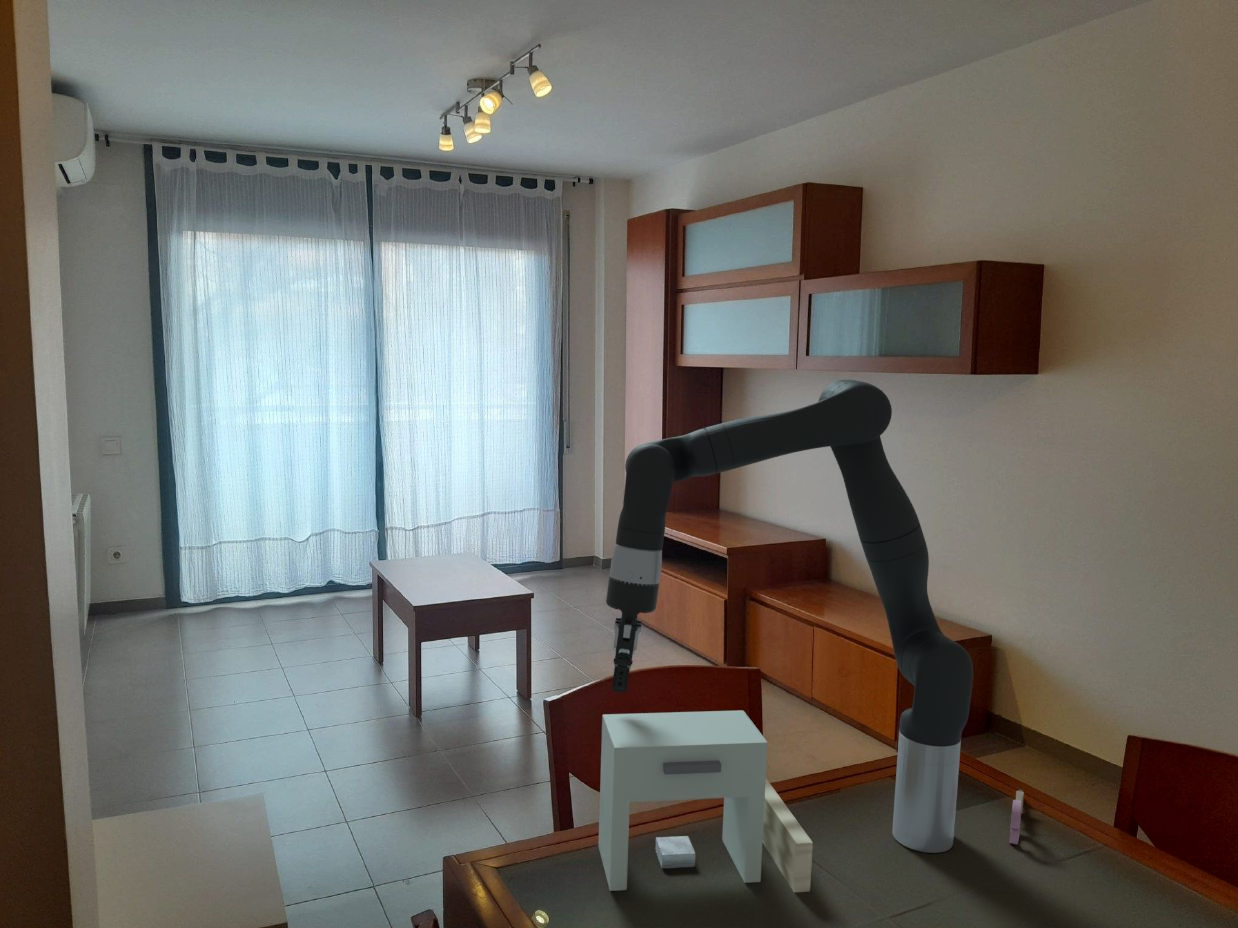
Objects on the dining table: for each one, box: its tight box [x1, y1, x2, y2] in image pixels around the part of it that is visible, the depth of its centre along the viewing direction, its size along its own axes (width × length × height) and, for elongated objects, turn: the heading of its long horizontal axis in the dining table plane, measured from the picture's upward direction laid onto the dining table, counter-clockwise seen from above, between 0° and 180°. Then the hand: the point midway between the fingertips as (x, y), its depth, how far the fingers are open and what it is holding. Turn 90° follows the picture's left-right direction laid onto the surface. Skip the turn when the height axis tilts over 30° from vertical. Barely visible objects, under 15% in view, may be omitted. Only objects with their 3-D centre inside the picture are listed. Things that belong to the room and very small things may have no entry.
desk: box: [598, 709, 769, 892], centre depth 135 cm, size 13×22×21 cm, turn 99°
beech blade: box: [762, 778, 814, 893], centre depth 141 cm, size 22×2×8 cm, turn 10°
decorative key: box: [1008, 789, 1025, 845], centre depth 153 cm, size 7×1×20 cm
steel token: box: [655, 835, 696, 869], centre depth 138 cm, size 5×5×2 cm
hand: (620, 683), depth 137 cm, fingers open, 8 cm apart
